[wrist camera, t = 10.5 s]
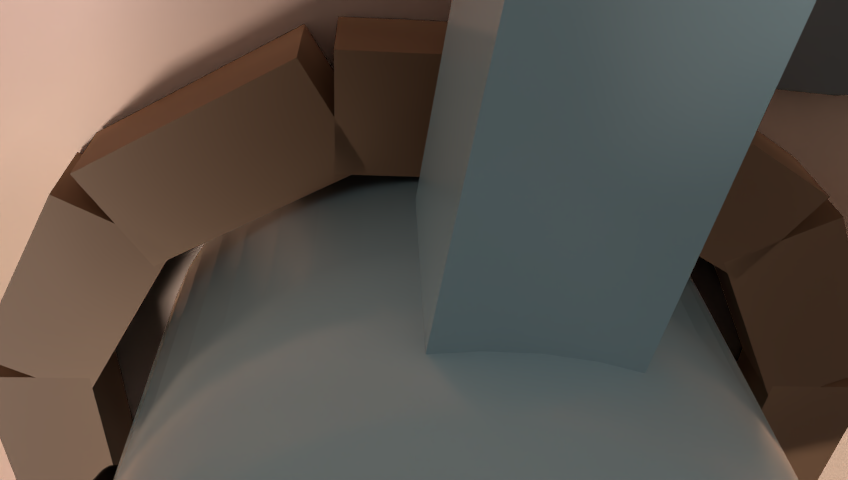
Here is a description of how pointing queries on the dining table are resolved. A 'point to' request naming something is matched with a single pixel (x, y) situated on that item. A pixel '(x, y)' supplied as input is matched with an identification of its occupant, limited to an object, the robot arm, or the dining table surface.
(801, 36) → the coaster
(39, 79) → the dining table surface
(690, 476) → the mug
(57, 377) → the holder ring
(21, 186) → the dining table surface
